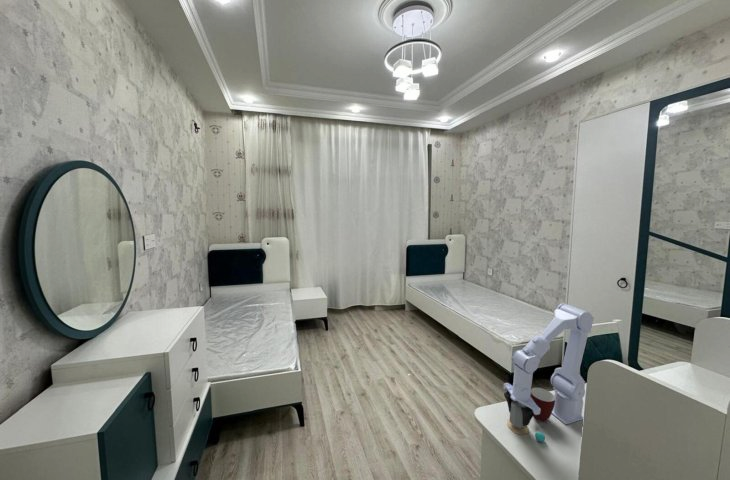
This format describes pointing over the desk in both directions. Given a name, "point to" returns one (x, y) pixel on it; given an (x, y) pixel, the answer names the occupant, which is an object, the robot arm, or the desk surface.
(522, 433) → the tan round coaster
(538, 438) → the marble
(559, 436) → the desk surface
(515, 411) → the faceted grey cylinder
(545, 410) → the mug
